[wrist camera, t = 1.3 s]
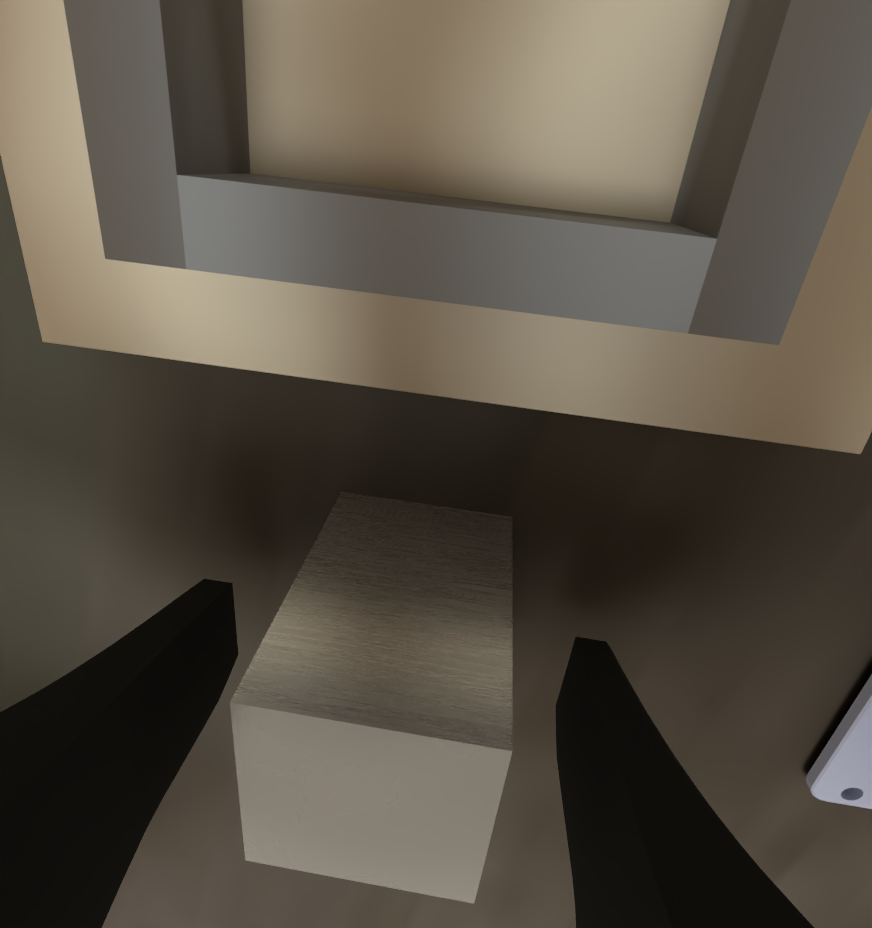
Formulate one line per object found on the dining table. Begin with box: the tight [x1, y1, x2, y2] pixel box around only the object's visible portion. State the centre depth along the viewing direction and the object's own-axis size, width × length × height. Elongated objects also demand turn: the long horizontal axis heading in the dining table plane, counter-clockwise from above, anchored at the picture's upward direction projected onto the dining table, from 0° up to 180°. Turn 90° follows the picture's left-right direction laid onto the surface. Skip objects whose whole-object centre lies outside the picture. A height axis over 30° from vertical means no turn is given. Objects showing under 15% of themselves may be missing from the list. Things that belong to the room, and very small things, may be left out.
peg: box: [230, 492, 512, 903], centre depth 12 cm, size 4×4×6 cm
